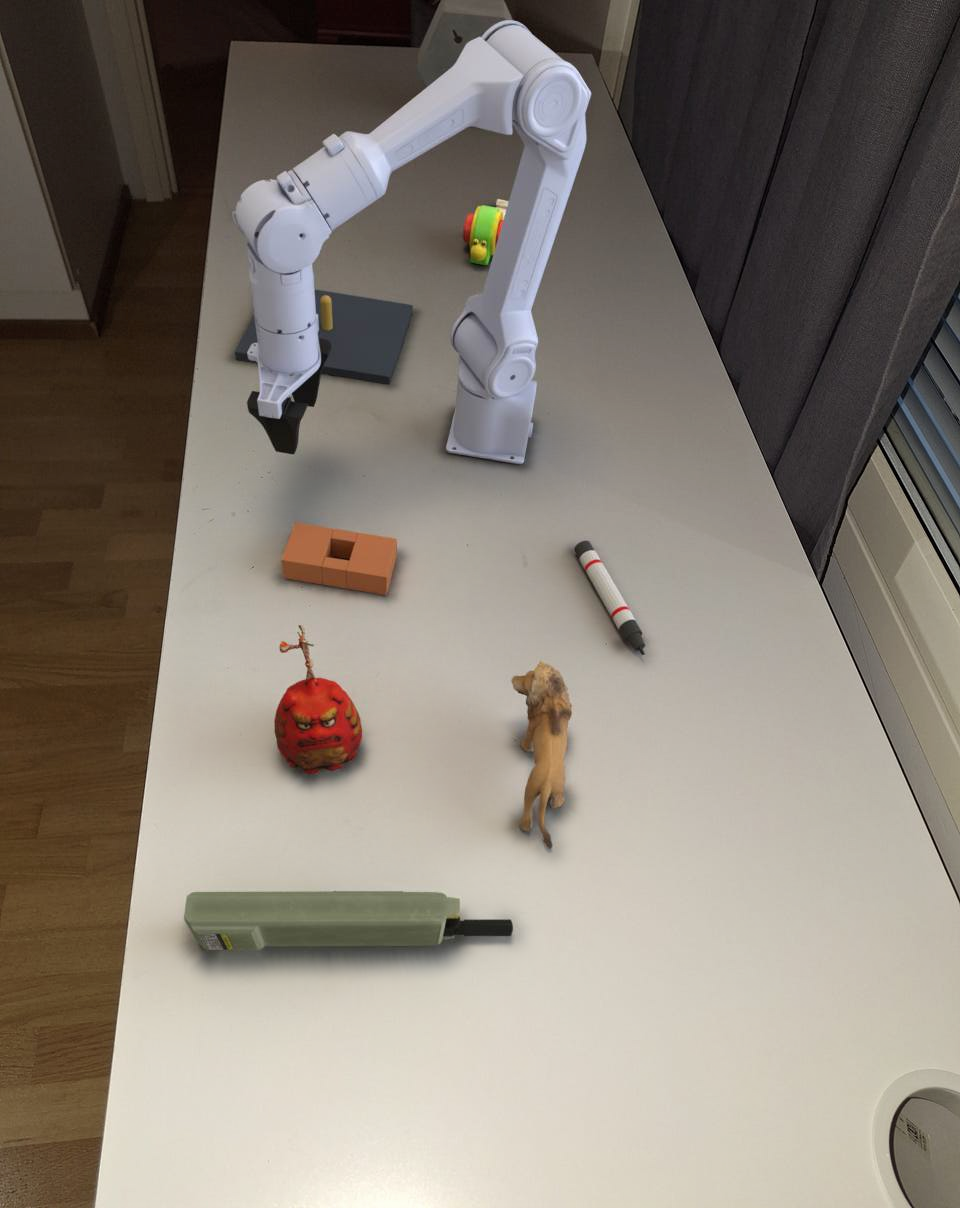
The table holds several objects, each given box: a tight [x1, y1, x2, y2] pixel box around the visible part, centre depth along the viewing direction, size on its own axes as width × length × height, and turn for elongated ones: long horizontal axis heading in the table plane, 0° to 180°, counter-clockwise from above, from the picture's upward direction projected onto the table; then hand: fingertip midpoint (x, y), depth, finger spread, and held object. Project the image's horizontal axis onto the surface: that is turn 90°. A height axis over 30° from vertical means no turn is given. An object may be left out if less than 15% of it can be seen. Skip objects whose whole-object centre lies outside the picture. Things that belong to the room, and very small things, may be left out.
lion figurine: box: [510, 660, 573, 849], centre depth 80 cm, size 15×5×9 cm, turn 6°
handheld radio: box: [183, 890, 514, 951], centre depth 70 cm, size 7×3×25 cm
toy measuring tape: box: [462, 198, 509, 266], centre depth 136 cm, size 6×19×7 cm, turn 166°
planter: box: [416, 0, 514, 89], centre depth 156 cm, size 17×8×21 cm
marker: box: [573, 540, 646, 656], centre depth 95 cm, size 15×2×2 cm, turn 21°
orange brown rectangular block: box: [280, 521, 398, 596], centre depth 95 cm, size 11×5×3 cm, turn 82°
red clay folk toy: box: [273, 624, 363, 776], centre depth 77 cm, size 8×7×15 cm
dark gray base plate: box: [234, 288, 414, 385], centre depth 118 cm, size 20×16×6 cm
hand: (295, 426), depth 95 cm, fingers open, 7 cm apart
